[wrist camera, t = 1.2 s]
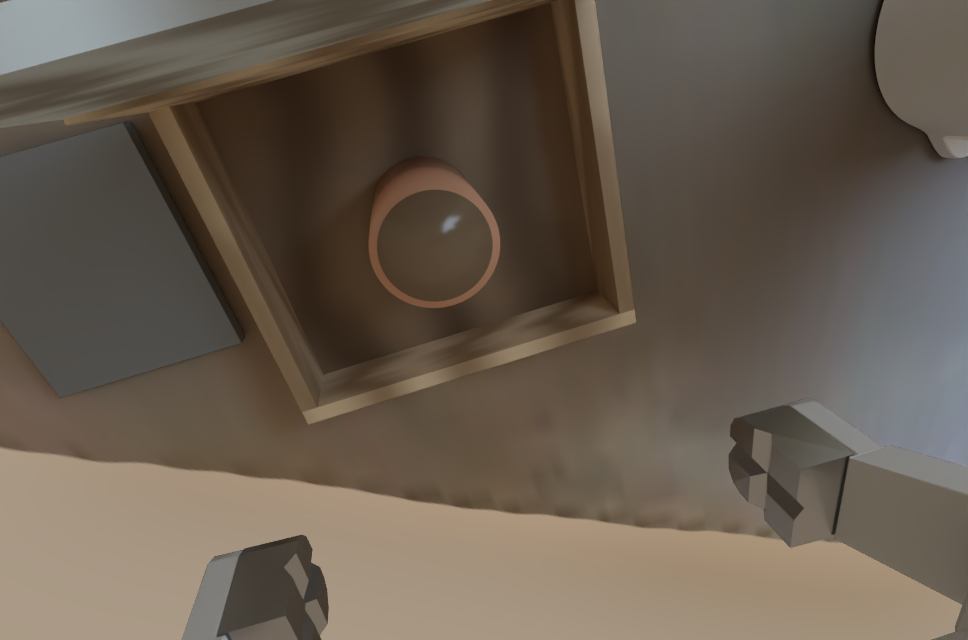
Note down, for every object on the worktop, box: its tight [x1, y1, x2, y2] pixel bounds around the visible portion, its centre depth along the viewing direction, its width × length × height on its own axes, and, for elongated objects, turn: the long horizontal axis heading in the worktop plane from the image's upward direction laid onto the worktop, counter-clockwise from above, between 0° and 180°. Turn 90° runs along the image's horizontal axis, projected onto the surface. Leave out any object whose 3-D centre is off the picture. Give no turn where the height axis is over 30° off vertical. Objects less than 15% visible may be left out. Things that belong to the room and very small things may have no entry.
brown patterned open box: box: [0, 0, 636, 425], centre depth 23 cm, size 22×20×24 cm
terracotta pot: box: [368, 156, 500, 308], centre depth 29 cm, size 6×6×8 cm
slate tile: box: [0, 121, 245, 398], centre depth 31 cm, size 12×14×1 cm
